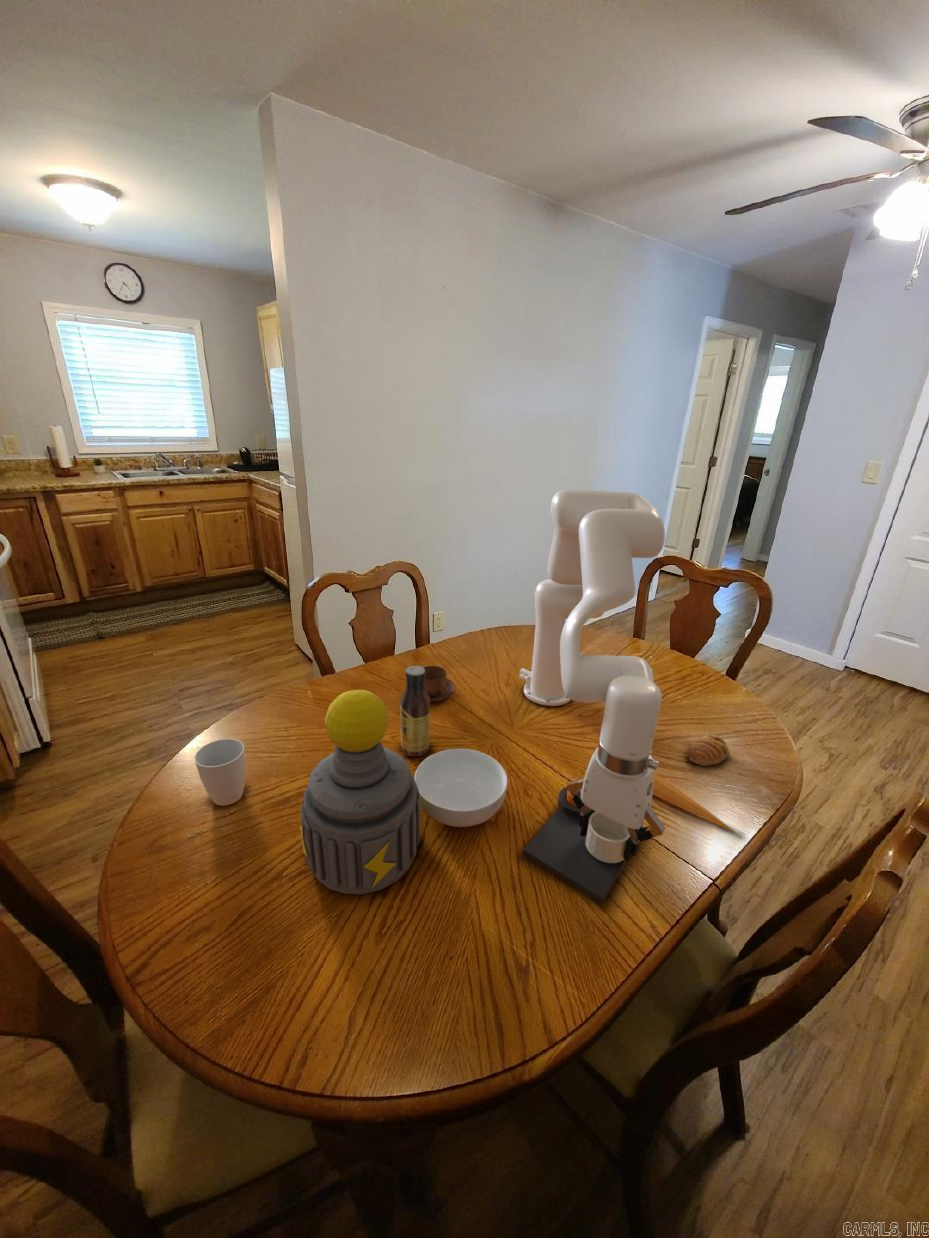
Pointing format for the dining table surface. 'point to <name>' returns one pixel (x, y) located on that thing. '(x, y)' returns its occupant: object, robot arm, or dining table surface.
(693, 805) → the carrot
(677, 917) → the dining table surface
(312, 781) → the decorative lamp
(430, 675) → the cup and saucer
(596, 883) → the scale
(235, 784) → the cup
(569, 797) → the power button
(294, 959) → the dining table surface
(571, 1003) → the dining table surface
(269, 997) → the dining table surface
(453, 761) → the cereal bowl
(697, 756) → the pastry
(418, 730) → the sauce bottle
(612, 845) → the small bowl
